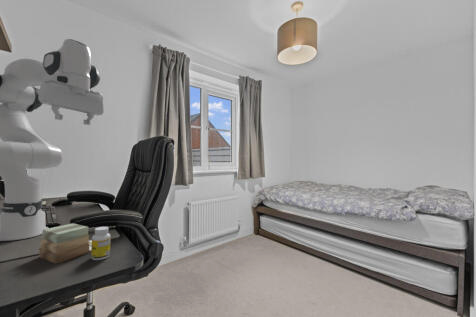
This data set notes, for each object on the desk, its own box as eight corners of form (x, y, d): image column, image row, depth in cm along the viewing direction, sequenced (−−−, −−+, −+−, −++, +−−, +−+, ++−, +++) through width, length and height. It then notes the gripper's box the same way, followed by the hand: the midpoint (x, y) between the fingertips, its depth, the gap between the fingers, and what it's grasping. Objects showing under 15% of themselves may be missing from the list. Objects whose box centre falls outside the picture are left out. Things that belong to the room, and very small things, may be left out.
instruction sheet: (73, 245, 83) (73, 244, 83) (90, 240, 89) (90, 239, 89) (90, 250, 79) (90, 250, 79) (107, 245, 85) (107, 244, 85)
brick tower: (38, 257, 73) (40, 229, 73) (72, 247, 82) (73, 222, 82) (56, 263, 68) (57, 234, 69) (88, 252, 78) (90, 226, 78)
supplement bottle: (89, 256, 75) (91, 227, 75) (108, 252, 78) (109, 225, 78) (91, 262, 70) (93, 231, 71) (111, 258, 74) (112, 228, 74)
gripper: (97, 94, 92) (96, 127, 91) (37, 75, 73) (34, 117, 73) (108, 93, 89) (106, 126, 89) (47, 73, 70) (45, 115, 70)
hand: (73, 122), depth 80 cm, fingers open, 8 cm apart
